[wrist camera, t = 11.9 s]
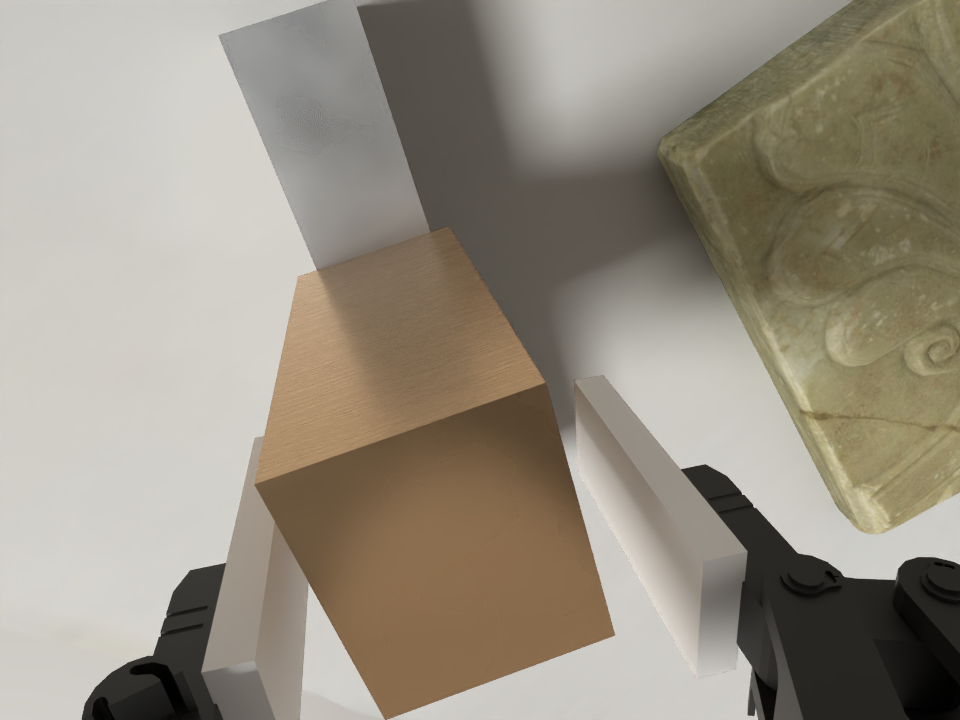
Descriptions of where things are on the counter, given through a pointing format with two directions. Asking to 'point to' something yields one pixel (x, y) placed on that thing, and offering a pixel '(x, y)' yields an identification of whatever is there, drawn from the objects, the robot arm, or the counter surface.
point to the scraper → (404, 401)
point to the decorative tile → (846, 243)
